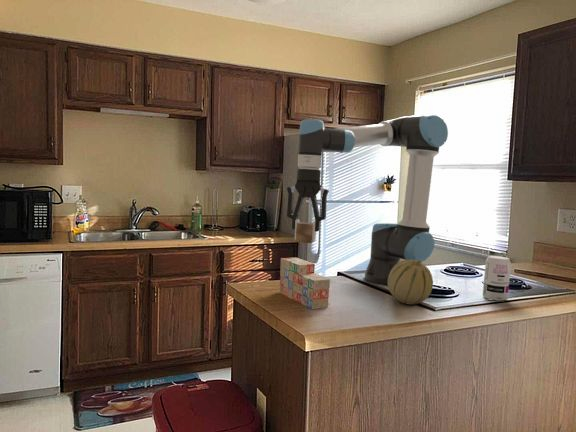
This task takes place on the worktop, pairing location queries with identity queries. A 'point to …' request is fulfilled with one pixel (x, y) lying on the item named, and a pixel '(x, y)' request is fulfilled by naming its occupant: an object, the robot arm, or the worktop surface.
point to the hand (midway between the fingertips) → (304, 240)
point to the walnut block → (304, 232)
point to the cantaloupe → (410, 282)
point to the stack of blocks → (303, 283)
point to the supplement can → (496, 278)
